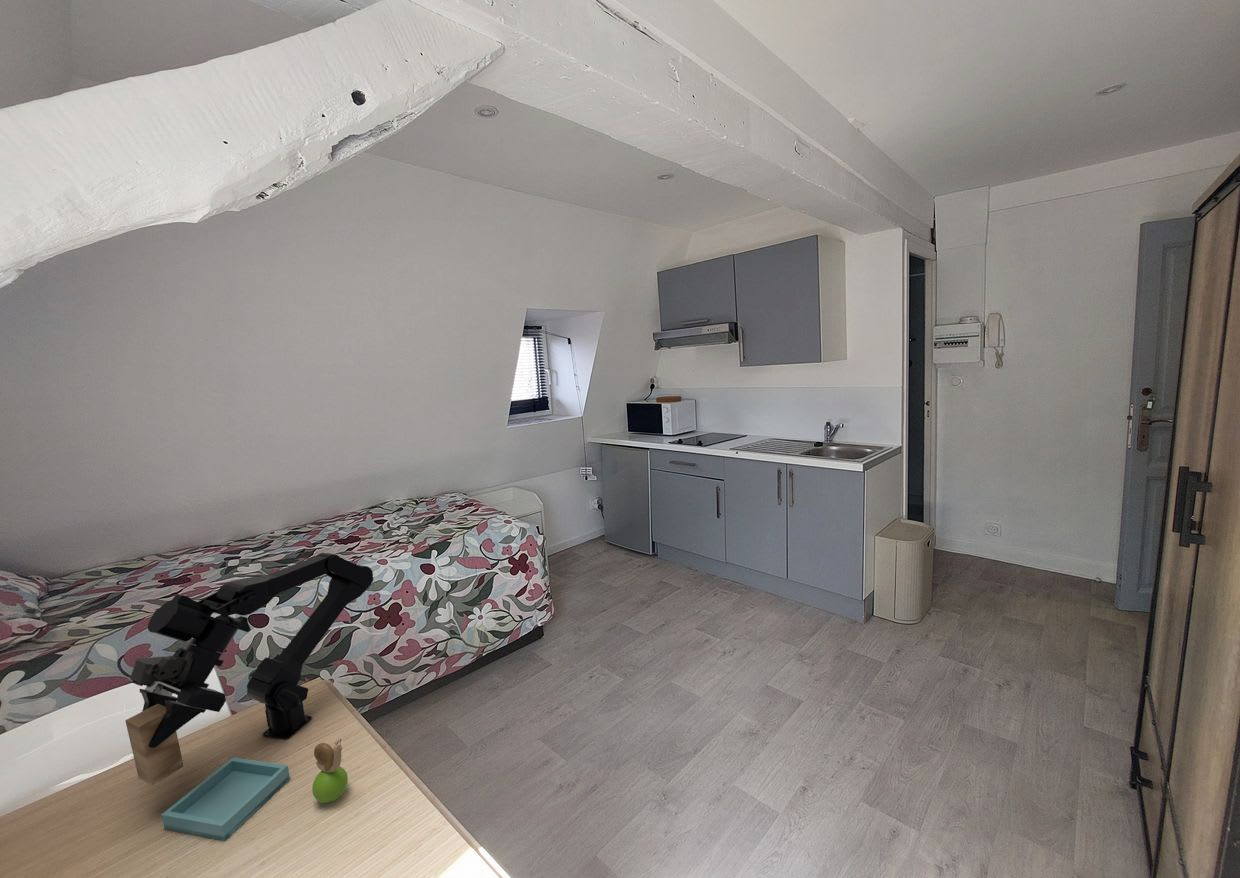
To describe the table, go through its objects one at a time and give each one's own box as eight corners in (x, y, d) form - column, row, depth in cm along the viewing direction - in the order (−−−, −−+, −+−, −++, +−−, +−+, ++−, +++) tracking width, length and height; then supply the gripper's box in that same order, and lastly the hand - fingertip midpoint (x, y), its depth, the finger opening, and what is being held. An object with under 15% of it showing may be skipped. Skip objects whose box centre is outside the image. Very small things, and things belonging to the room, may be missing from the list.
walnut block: (170, 759, 92) (157, 703, 91) (183, 766, 90) (171, 709, 89) (138, 778, 88) (125, 720, 87) (152, 785, 86) (138, 727, 85)
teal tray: (290, 778, 95) (287, 765, 95) (224, 841, 83) (221, 826, 83) (235, 770, 98) (232, 757, 98) (164, 829, 86) (161, 814, 86)
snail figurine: (335, 815, 87) (325, 752, 85) (307, 806, 89) (296, 744, 87) (361, 789, 92) (352, 729, 90) (333, 781, 94) (324, 722, 92)
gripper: (135, 626, 93) (64, 721, 85) (192, 645, 85) (121, 752, 77) (193, 644, 101) (134, 732, 93) (251, 663, 94) (192, 760, 85)
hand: (143, 743), depth 87 cm, fingers closed on walnut block, 4 cm apart
